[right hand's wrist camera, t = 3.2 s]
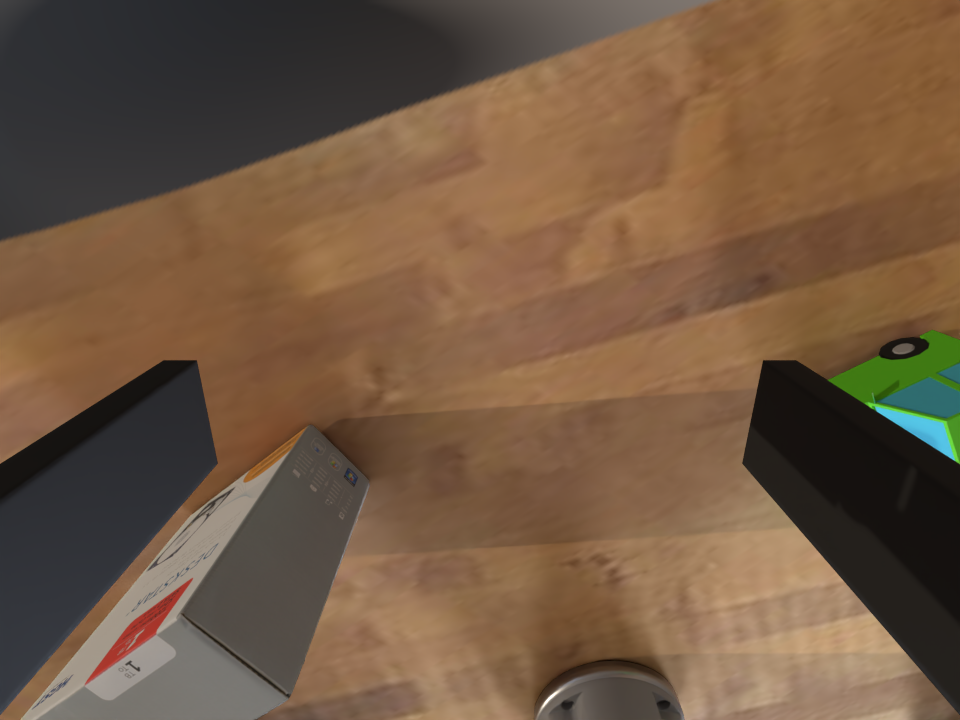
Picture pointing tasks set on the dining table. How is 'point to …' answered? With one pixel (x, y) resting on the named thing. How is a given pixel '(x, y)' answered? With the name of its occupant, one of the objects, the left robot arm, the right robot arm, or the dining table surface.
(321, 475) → the hard drive box
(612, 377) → the dining table surface
